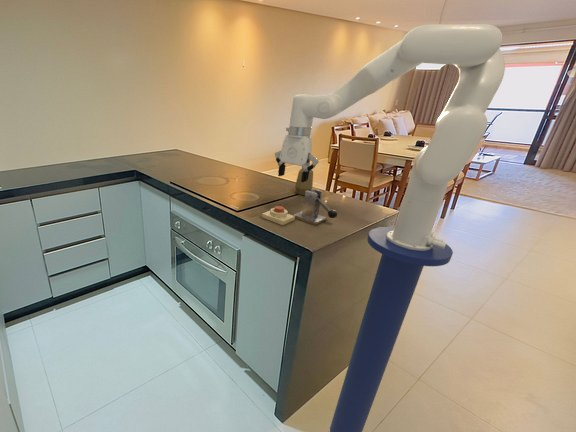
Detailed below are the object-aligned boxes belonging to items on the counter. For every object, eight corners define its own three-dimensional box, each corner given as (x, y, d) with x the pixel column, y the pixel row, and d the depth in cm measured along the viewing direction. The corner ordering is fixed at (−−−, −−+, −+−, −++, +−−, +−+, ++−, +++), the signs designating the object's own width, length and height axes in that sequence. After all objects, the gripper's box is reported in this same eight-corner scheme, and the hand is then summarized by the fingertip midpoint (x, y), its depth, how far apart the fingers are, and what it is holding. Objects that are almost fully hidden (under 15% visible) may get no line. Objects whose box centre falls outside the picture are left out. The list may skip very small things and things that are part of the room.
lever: (334, 218, 112) (340, 213, 110) (330, 220, 110) (336, 215, 108) (310, 194, 118) (315, 189, 115) (306, 196, 116) (311, 190, 114)
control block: (294, 220, 118) (295, 212, 116) (282, 225, 113) (283, 217, 112) (273, 212, 125) (274, 204, 123) (261, 217, 120) (262, 209, 119)
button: (285, 211, 117) (285, 207, 117) (279, 214, 115) (280, 209, 115) (277, 209, 120) (278, 205, 119) (272, 211, 118) (272, 207, 117)
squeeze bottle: (290, 192, 150) (295, 157, 142) (303, 190, 153) (308, 155, 145) (301, 197, 143) (307, 160, 136) (314, 195, 146) (321, 159, 139)
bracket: (326, 220, 118) (331, 192, 113) (315, 225, 113) (321, 196, 108) (303, 212, 125) (308, 186, 120) (292, 217, 120) (297, 189, 116)
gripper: (272, 130, 108) (267, 175, 115) (317, 135, 96) (308, 185, 103) (284, 128, 113) (278, 172, 119) (328, 134, 101) (318, 182, 107)
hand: (292, 178), depth 111 cm, fingers open, 9 cm apart
